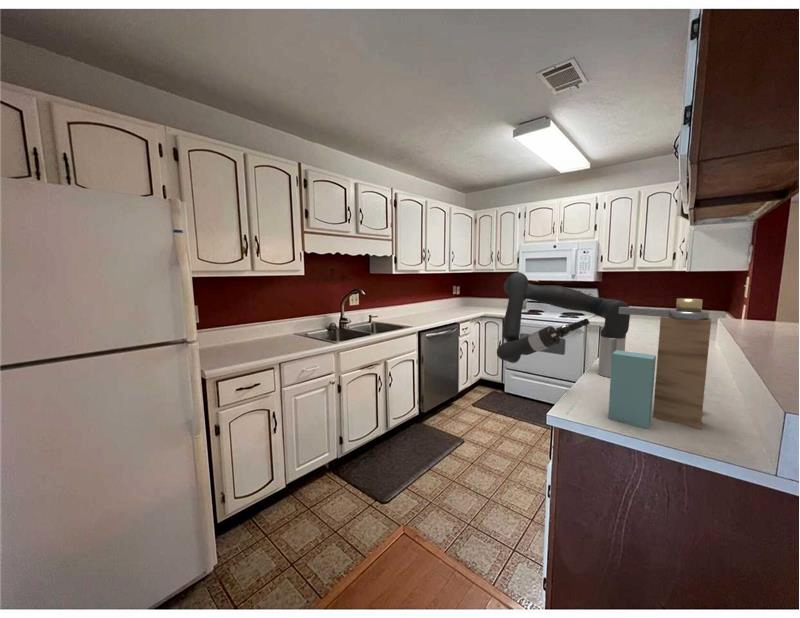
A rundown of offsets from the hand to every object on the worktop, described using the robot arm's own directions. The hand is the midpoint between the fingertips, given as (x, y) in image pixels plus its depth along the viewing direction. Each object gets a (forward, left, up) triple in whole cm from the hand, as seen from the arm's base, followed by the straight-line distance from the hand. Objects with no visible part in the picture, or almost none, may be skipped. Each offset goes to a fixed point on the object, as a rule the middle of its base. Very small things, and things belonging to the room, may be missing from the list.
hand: (584, 322), depth 114 cm
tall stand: (0, +27, -28) cm, 39 cm away
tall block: (+10, +16, -28) cm, 34 cm away
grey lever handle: (0, +21, +4) cm, 21 cm away
